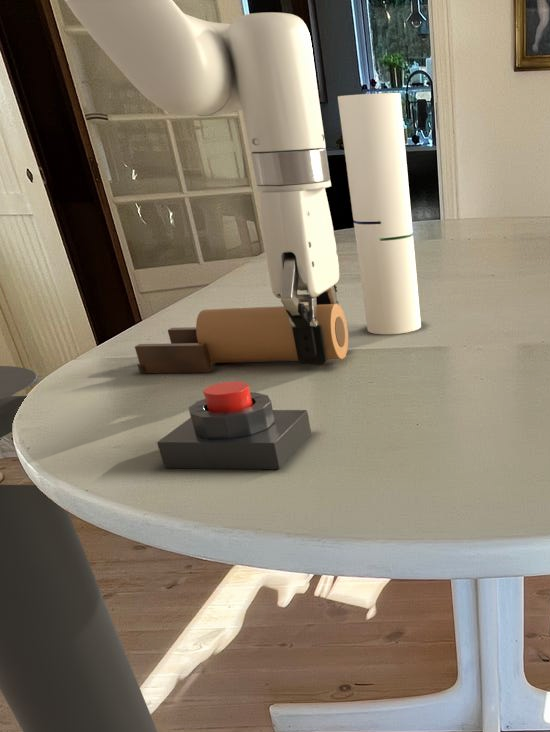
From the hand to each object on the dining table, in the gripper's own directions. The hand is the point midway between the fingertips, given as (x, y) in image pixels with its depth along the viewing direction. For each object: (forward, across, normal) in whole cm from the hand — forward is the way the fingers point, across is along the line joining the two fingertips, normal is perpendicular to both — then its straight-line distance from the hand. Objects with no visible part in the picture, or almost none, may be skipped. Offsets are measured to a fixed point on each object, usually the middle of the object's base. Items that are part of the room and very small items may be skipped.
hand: (322, 354), depth 85 cm
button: (-3, +28, +2) cm, 28 cm away
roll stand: (+1, 0, -16) cm, 16 cm away
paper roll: (-2, 0, -13) cm, 14 cm away
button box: (+1, +28, +2) cm, 28 cm away
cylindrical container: (+1, -16, +5) cm, 17 cm away
